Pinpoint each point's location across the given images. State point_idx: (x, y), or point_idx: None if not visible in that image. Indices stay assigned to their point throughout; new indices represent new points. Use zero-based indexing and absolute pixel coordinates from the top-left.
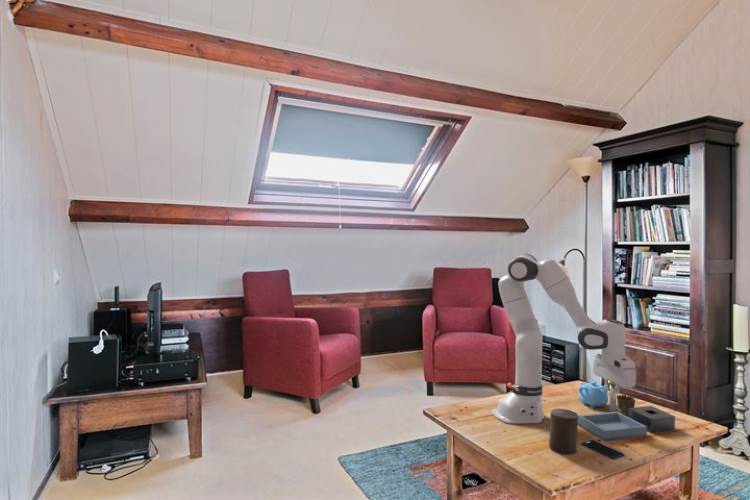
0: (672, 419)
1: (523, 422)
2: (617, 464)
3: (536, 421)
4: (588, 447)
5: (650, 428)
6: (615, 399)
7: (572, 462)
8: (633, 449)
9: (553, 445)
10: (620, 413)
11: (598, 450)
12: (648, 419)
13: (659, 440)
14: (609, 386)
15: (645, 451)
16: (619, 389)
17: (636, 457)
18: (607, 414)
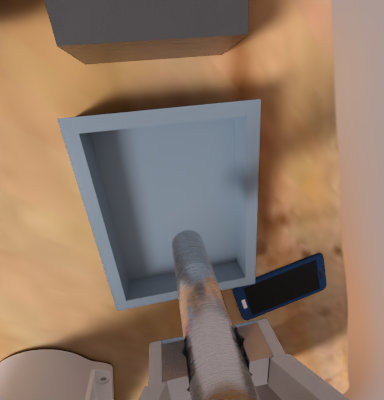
0: None
1: (113, 397)
2: (343, 287)
3: (111, 378)
4: (266, 312)
5: (226, 49)
6: (217, 283)
7: (304, 352)
8: (304, 214)
9: None
10: (86, 118)
11: (286, 300)
12: (225, 38)
13: (283, 73)
14: (178, 395)
15: (325, 188)
16: (289, 355)
17: (338, 232)
18: (96, 190)
